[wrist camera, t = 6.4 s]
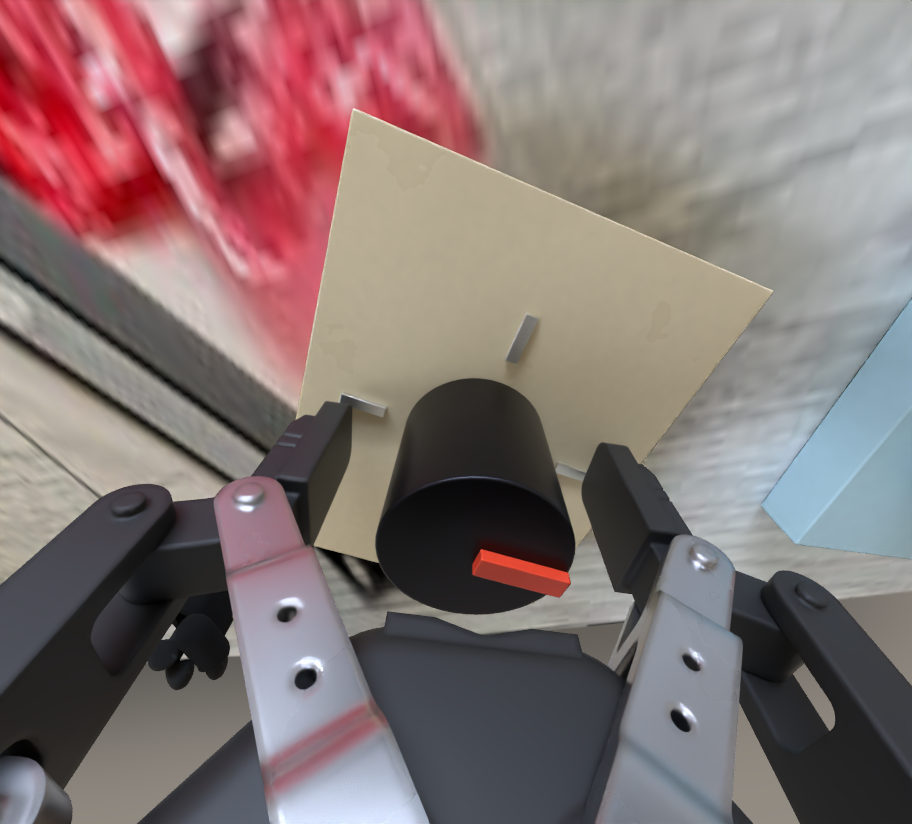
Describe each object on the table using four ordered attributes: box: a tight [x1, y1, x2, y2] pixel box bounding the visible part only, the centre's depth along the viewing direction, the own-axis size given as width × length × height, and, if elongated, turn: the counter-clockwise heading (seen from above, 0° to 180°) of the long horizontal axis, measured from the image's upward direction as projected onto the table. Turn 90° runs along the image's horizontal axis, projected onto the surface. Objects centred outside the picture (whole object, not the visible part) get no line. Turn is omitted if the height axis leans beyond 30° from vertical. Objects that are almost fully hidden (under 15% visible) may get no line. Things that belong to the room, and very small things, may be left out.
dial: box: [375, 378, 576, 615], centre depth 10 cm, size 4×4×5 cm
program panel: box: [296, 109, 773, 603], centre depth 14 cm, size 14×11×3 cm
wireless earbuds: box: [148, 590, 234, 690], centre depth 19 cm, size 7×2×5 cm, turn 11°
